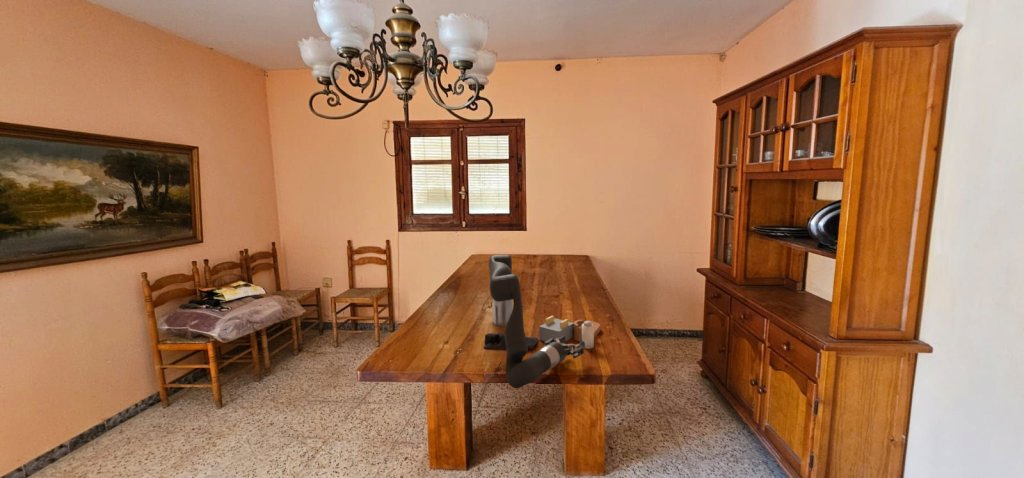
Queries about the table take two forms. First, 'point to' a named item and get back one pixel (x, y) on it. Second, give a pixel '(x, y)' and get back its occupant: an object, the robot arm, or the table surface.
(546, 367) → the robot arm
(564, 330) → the block
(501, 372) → the table surface
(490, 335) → the dark slate chunk
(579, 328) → the bracket
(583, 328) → the white bottle
